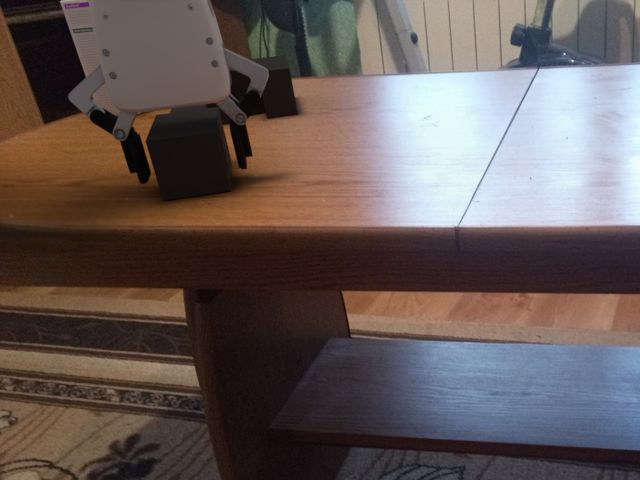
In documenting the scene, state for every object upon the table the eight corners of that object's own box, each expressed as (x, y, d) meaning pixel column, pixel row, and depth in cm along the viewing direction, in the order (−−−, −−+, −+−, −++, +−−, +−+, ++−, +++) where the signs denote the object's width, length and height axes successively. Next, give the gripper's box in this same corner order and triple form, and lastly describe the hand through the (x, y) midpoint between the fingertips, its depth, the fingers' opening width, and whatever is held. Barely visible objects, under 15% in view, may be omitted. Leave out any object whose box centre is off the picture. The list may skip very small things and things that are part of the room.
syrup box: (140, 114, 97) (104, -7, 89) (97, 117, 97) (57, -3, 90) (156, 104, 102) (124, -11, 94) (115, 107, 102) (79, -8, 95)
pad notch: (198, 127, 89) (186, 80, 86) (202, 109, 97) (191, 65, 94) (298, 114, 91) (289, 67, 88) (292, 97, 100) (284, 54, 97)
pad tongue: (163, 201, 66) (145, 140, 63) (173, 162, 77) (158, 108, 74) (231, 191, 67) (216, 131, 64) (231, 154, 78) (219, 101, 75)
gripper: (247, -49, 64) (286, 148, 73) (34, -30, 61) (103, 174, 70) (248, -45, 58) (291, 170, 67) (11, -24, 55) (90, 199, 64)
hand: (195, 171), depth 69 cm, fingers open, 8 cm apart
